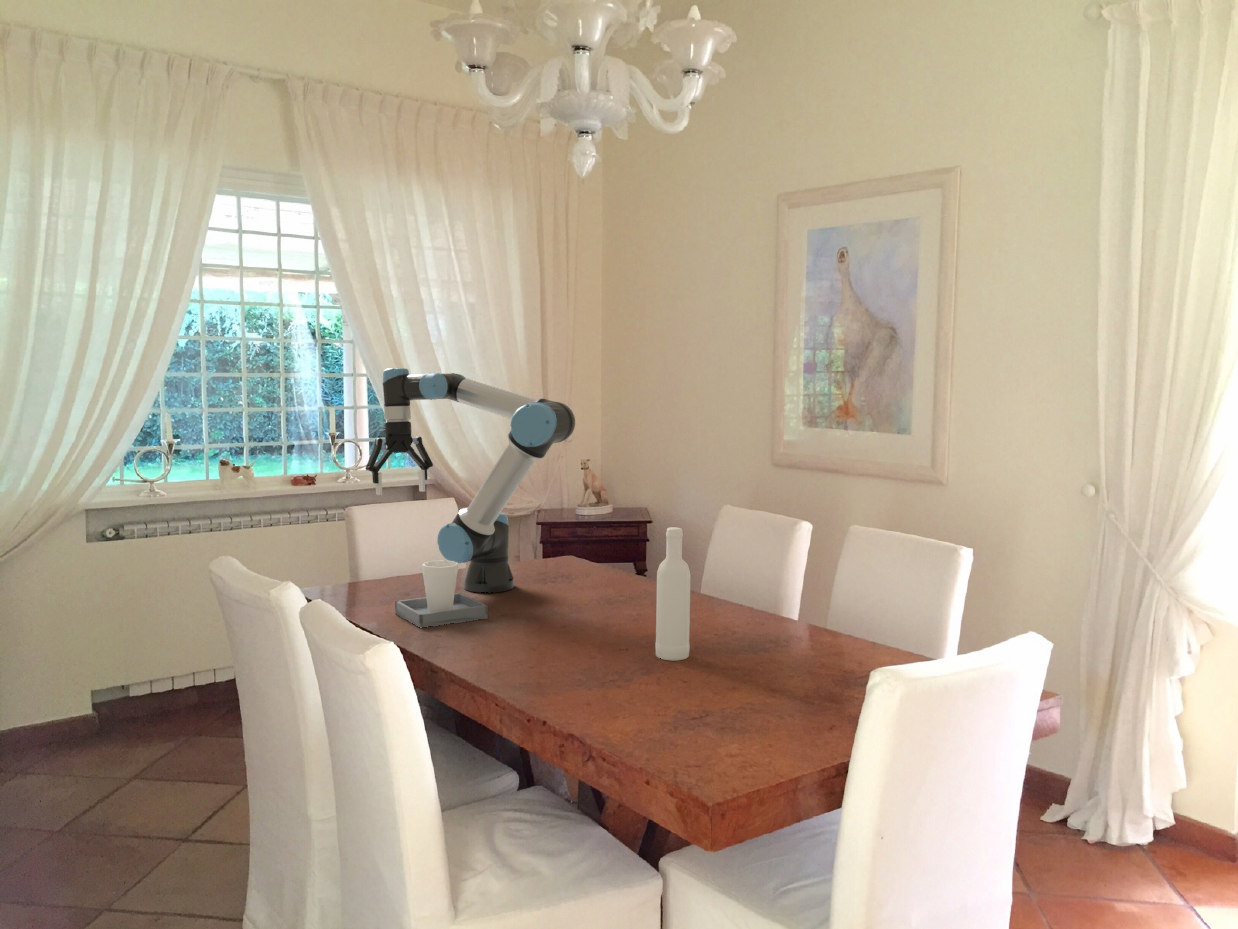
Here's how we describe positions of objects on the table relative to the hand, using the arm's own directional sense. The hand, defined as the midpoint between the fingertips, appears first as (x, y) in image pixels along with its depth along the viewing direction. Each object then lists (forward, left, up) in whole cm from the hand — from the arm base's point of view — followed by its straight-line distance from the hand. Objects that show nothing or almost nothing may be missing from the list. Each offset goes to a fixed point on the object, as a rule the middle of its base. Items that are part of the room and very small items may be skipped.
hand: (401, 493), depth 282 cm
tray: (+2, +34, -29) cm, 45 cm away
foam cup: (+3, +34, -28) cm, 44 cm away
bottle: (-29, +95, -29) cm, 104 cm away
